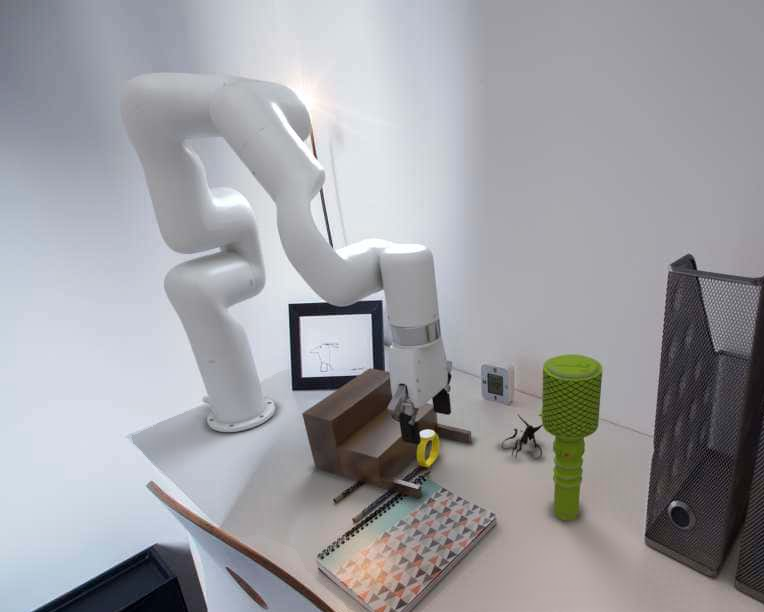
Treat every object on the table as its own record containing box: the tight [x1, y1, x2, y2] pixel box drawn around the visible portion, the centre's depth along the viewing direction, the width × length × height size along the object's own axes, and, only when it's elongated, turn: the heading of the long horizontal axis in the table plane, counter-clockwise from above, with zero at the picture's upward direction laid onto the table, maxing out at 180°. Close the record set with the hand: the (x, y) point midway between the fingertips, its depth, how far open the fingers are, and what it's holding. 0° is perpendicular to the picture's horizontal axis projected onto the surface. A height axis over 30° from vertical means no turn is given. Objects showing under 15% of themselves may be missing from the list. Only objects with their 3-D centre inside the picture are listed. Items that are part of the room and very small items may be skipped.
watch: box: [416, 430, 440, 469], centre depth 90 cm, size 6×3×6 cm, turn 160°
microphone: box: [538, 354, 604, 522], centre depth 74 cm, size 8×8×25 cm
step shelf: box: [301, 367, 472, 500], centre depth 91 cm, size 21×18×11 cm
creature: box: [501, 413, 543, 460], centre depth 93 cm, size 8×5×8 cm
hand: (427, 426), depth 88 cm, fingers open, 9 cm apart
